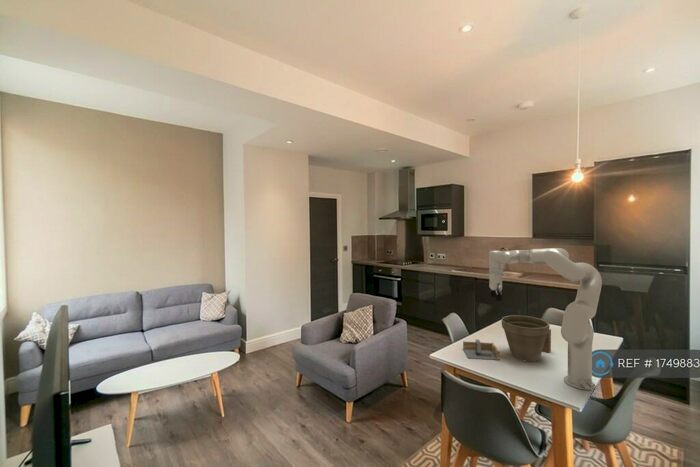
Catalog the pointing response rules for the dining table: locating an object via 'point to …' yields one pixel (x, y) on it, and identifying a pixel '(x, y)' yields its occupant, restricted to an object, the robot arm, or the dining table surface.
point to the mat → (472, 355)
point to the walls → (483, 347)
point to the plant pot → (525, 336)
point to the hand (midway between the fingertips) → (496, 299)
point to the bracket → (480, 351)
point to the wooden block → (547, 343)
